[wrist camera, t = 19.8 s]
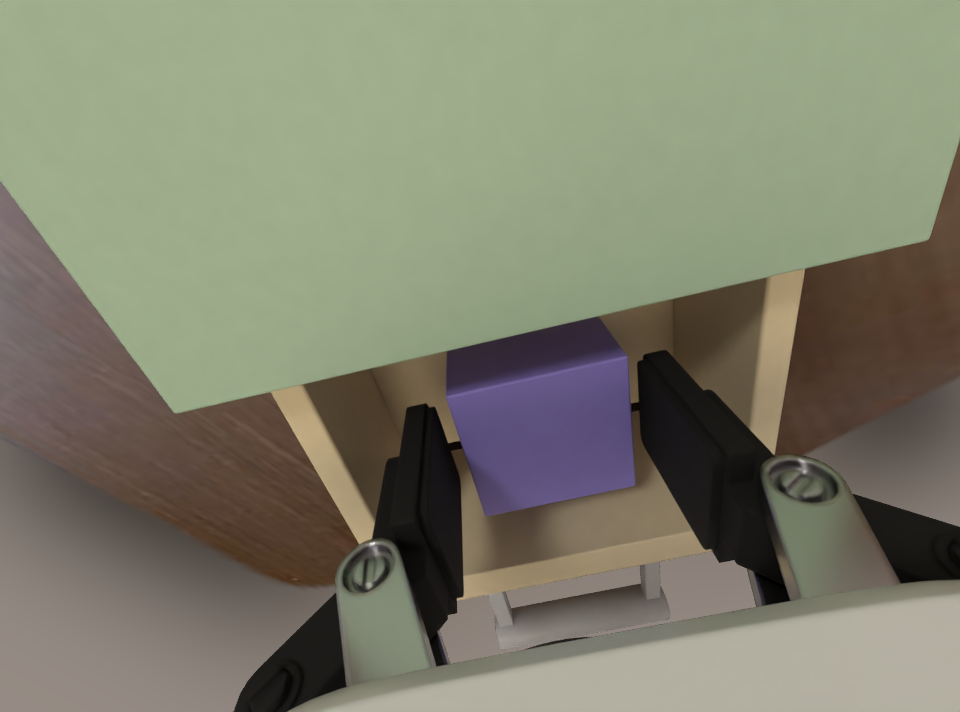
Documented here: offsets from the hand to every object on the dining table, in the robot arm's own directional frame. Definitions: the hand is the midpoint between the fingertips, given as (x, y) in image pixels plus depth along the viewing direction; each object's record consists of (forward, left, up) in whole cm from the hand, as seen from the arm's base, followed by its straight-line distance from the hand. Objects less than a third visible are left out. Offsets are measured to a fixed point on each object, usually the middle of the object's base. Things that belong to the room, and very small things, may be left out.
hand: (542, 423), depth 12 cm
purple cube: (0, 0, -3) cm, 3 cm away
